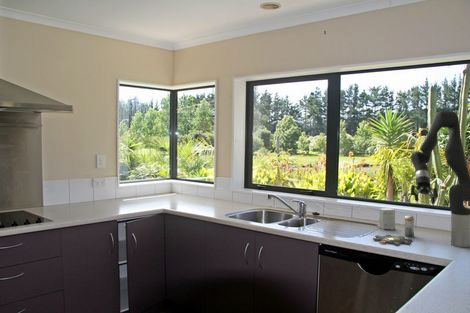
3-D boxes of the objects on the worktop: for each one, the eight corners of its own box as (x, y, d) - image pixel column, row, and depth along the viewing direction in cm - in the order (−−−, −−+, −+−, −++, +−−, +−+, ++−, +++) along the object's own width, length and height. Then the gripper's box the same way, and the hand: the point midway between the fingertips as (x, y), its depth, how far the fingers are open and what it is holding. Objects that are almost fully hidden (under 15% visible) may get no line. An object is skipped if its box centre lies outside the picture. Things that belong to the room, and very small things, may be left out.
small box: (390, 227, 256) (390, 207, 255) (395, 229, 249) (395, 209, 249) (378, 227, 255) (378, 208, 255) (383, 230, 249) (383, 209, 248)
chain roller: (415, 236, 231) (415, 216, 230) (411, 237, 228) (411, 217, 227) (407, 234, 235) (407, 215, 235) (403, 236, 232) (403, 216, 232)
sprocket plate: (420, 241, 218) (420, 239, 218) (399, 247, 206) (399, 245, 206) (386, 234, 235) (386, 232, 235) (365, 240, 223) (365, 237, 223)
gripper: (412, 173, 230) (414, 197, 220) (437, 177, 228) (440, 201, 218) (408, 180, 236) (410, 203, 226) (432, 184, 234) (435, 207, 224)
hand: (425, 202), depth 222 cm, fingers open, 8 cm apart
